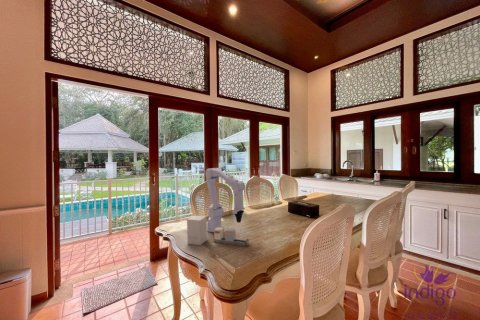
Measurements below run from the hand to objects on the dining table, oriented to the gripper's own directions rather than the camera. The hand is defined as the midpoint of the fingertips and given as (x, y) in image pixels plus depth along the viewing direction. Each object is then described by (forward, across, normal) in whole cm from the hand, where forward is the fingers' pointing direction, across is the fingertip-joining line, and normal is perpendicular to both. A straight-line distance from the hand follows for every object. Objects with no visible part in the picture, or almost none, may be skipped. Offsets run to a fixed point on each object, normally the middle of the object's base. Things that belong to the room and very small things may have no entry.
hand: (238, 222), depth 132 cm
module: (+8, -8, +3) cm, 12 cm away
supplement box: (+11, -12, +23) cm, 28 cm away
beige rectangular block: (+8, -8, +11) cm, 16 cm away
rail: (+10, -8, +3) cm, 13 cm away
